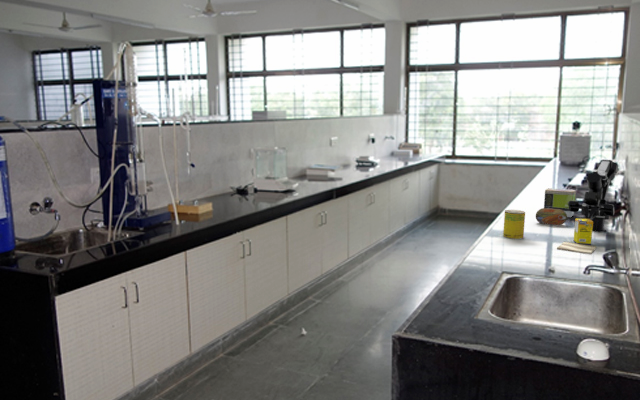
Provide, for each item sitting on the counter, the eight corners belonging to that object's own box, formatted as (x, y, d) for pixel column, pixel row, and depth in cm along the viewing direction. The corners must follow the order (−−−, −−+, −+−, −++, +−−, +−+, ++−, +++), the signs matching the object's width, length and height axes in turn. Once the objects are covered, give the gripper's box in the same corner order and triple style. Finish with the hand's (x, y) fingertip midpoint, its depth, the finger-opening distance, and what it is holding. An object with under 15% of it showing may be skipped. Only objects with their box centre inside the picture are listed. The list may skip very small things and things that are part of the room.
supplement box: (591, 245, 229) (593, 221, 227) (576, 244, 230) (578, 220, 228) (587, 242, 235) (589, 218, 233) (573, 241, 236) (575, 218, 234)
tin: (535, 223, 274) (536, 207, 273) (535, 222, 277) (536, 206, 275) (566, 226, 268) (567, 210, 267) (566, 224, 271) (567, 209, 270)
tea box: (574, 215, 296) (576, 189, 294) (571, 218, 288) (574, 191, 286) (545, 212, 304) (547, 187, 302) (542, 215, 296) (544, 189, 294)
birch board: (564, 242, 233) (564, 241, 233) (596, 247, 226) (596, 246, 225) (557, 248, 223) (557, 247, 223) (590, 254, 215) (590, 252, 215)
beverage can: (524, 239, 240) (526, 213, 238) (504, 238, 242) (506, 212, 240) (521, 234, 249) (523, 210, 247) (501, 233, 250) (503, 209, 248)
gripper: (570, 183, 244) (563, 209, 237) (615, 187, 233) (609, 214, 226) (573, 197, 251) (565, 223, 244) (616, 202, 240) (610, 229, 233)
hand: (587, 222), depth 237 cm, fingers closed
